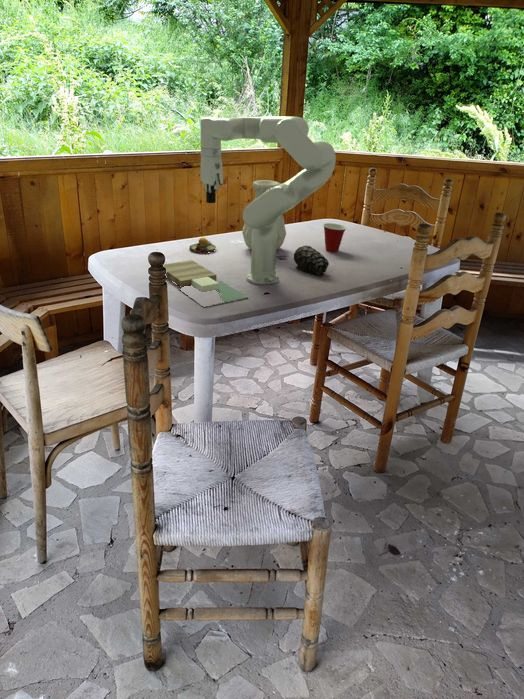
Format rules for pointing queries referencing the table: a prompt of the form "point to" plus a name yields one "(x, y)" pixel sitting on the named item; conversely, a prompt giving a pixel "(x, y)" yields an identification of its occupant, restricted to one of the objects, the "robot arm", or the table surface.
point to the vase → (261, 188)
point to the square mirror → (229, 293)
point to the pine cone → (310, 261)
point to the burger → (203, 246)
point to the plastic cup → (333, 236)
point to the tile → (205, 284)
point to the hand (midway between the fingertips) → (210, 202)
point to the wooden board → (187, 272)
